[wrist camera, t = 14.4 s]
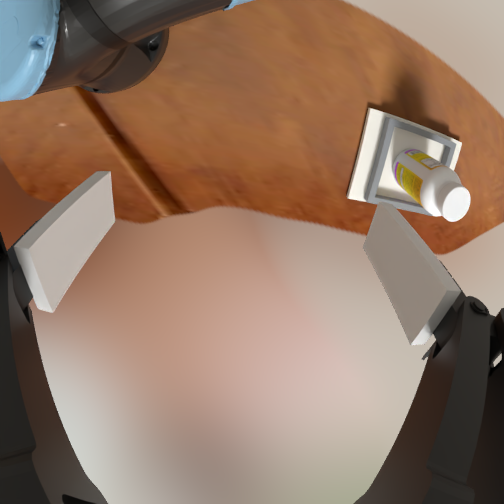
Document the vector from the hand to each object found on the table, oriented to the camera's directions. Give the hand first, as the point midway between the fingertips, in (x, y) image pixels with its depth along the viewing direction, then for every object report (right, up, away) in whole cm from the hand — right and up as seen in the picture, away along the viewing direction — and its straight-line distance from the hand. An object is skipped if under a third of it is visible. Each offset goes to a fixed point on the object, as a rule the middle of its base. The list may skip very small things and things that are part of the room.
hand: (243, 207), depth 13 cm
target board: (+24, +11, +25) cm, 37 cm away
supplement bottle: (+24, +11, +24) cm, 36 cm away
